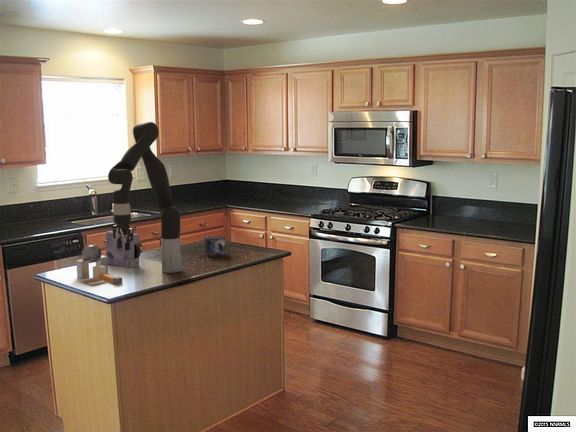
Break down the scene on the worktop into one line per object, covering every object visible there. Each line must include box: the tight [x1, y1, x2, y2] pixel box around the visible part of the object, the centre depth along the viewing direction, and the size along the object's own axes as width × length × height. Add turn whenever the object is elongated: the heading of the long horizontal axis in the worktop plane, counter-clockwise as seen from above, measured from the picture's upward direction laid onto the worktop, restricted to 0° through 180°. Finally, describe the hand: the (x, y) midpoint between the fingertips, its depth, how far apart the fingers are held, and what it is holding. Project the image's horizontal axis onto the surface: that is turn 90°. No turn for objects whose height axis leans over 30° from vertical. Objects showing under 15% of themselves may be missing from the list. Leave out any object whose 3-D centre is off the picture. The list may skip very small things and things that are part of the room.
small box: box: [204, 235, 226, 258], centre depth 330 cm, size 11×6×10 cm, turn 114°
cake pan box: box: [105, 230, 142, 269], centre depth 307 cm, size 19×5×18 cm, turn 68°
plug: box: [92, 265, 123, 286], centre depth 280 cm, size 19×4×6 cm, turn 49°
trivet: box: [80, 277, 107, 287], centre depth 277 cm, size 10×7×1 cm
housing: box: [76, 244, 109, 280], centre depth 288 cm, size 4×14×15 cm, turn 139°
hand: (123, 249), depth 269 cm, fingers open, 5 cm apart
